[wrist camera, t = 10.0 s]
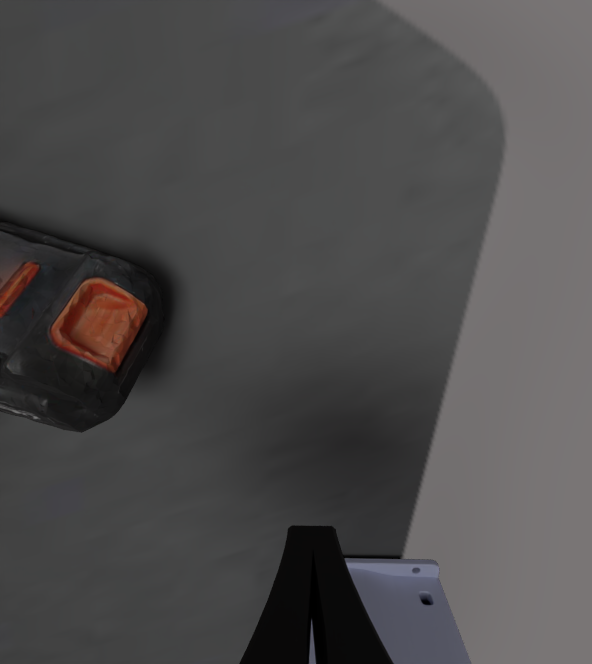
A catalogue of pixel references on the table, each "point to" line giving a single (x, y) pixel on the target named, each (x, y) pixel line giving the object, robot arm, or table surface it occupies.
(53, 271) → the battery
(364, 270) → the table surface
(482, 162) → the table surface
